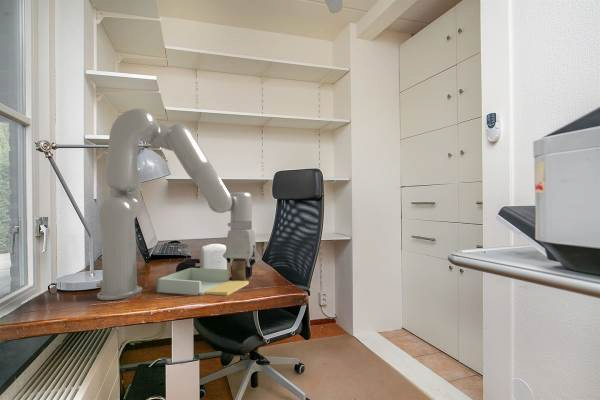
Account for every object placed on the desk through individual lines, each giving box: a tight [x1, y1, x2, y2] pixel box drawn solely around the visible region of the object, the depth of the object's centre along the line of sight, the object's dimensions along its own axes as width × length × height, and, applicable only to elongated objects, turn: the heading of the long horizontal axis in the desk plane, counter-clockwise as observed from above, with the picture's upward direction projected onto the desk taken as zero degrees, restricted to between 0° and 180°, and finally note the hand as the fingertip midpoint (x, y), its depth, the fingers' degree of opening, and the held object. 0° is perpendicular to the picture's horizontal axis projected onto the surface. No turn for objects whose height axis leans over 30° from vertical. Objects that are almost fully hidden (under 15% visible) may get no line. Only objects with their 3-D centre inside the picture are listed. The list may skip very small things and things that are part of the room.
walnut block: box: [231, 259, 252, 281], centre depth 115 cm, size 5×5×7 cm
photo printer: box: [200, 243, 228, 270], centre depth 126 cm, size 10×4×12 cm, turn 125°
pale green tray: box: [155, 267, 232, 296], centre depth 106 cm, size 17×17×5 cm
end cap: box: [175, 257, 201, 273], centre depth 125 cm, size 10×7×7 cm
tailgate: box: [203, 280, 250, 297], centre depth 103 cm, size 1×14×8 cm
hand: (241, 276), depth 115 cm, fingers closed on walnut block, 5 cm apart
